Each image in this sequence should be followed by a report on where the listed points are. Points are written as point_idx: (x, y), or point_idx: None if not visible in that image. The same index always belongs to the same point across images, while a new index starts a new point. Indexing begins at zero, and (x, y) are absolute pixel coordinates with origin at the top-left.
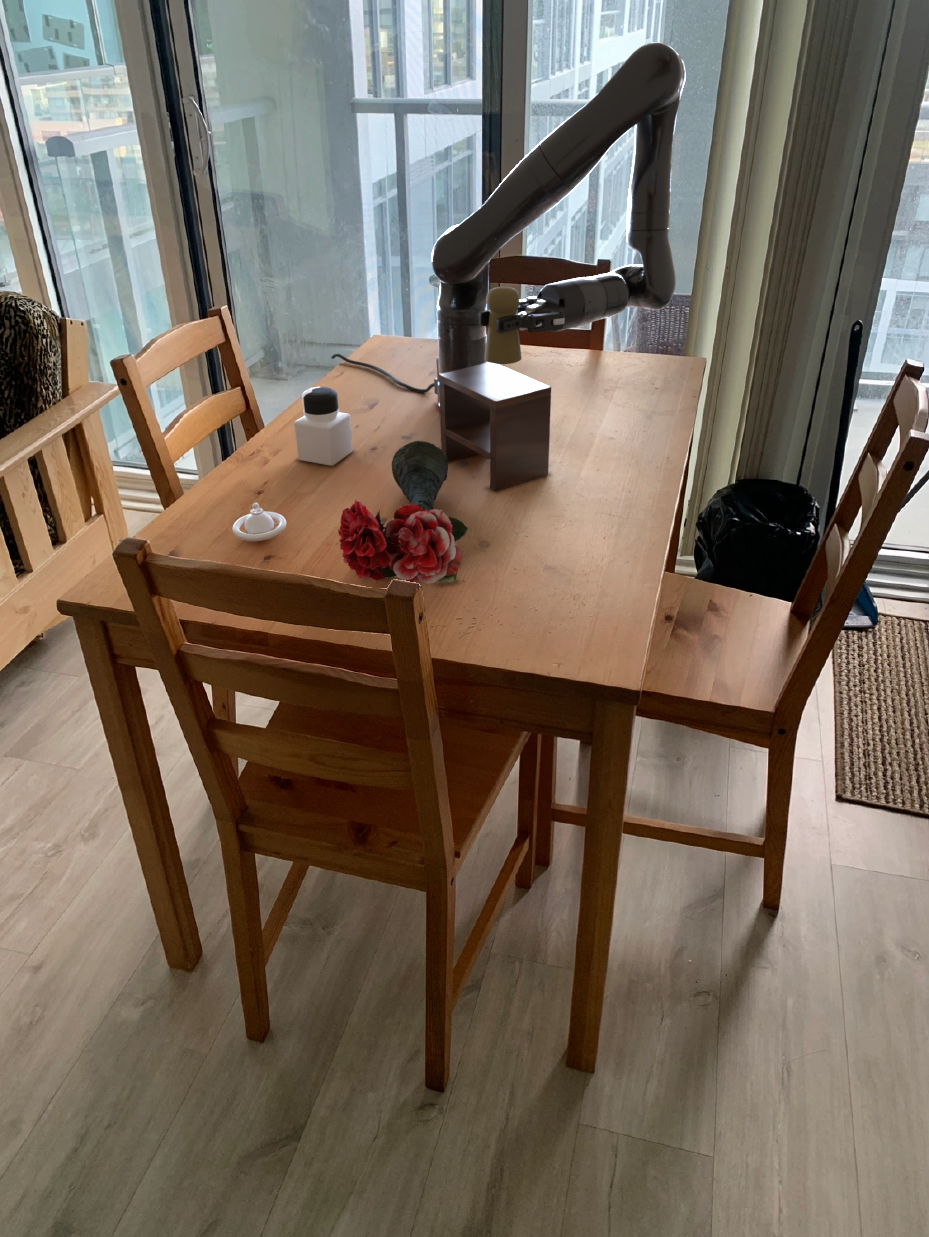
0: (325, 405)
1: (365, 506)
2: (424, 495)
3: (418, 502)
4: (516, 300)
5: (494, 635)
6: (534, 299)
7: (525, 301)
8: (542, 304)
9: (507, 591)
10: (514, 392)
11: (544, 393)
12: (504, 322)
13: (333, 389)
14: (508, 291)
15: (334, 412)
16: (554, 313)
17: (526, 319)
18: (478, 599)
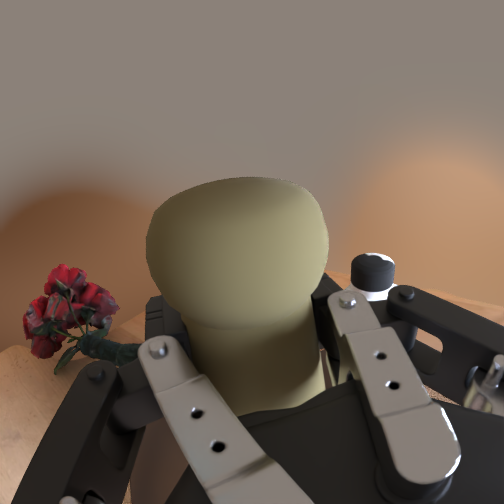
0: (352, 273)
1: (57, 267)
2: (112, 347)
3: (104, 340)
4: (150, 263)
5: (2, 368)
6: (393, 463)
7: (367, 399)
8: (208, 493)
9: (21, 396)
10: (151, 448)
11: None
12: (149, 300)
13: (382, 270)
14: (173, 199)
15: (359, 290)
16: (35, 485)
17: (119, 367)
18: (30, 377)
